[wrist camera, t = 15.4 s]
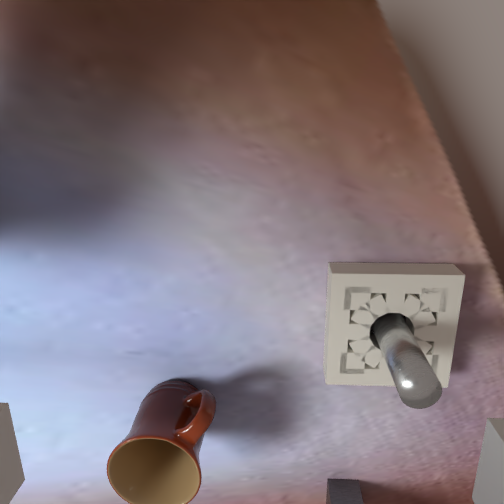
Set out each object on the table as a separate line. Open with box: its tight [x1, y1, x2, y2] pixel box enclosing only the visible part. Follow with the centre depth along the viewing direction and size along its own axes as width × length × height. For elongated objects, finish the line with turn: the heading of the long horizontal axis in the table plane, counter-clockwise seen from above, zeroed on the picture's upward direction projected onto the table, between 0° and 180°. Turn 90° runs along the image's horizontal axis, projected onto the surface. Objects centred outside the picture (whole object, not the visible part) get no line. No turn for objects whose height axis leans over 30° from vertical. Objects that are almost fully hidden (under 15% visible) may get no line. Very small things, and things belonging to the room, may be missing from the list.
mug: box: [107, 381, 216, 504], centre depth 45 cm, size 12×9×10 cm
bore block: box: [323, 262, 465, 388], centre depth 44 cm, size 12×12×3 cm
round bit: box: [371, 313, 442, 409], centre depth 40 cm, size 3×3×12 cm
